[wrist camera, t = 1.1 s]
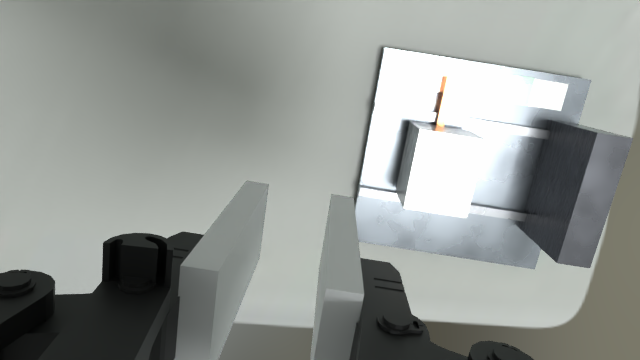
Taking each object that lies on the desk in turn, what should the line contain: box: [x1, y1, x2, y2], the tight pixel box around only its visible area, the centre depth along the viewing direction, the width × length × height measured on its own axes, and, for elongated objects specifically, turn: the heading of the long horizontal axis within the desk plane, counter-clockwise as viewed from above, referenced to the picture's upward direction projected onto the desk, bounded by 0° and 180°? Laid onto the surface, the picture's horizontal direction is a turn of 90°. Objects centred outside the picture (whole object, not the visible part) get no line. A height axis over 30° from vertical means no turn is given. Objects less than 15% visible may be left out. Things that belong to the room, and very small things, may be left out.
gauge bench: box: [355, 48, 633, 269], centre depth 30 cm, size 14×14×7 cm
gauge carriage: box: [396, 76, 486, 218], centre depth 29 cm, size 8×4×4 cm, turn 171°
